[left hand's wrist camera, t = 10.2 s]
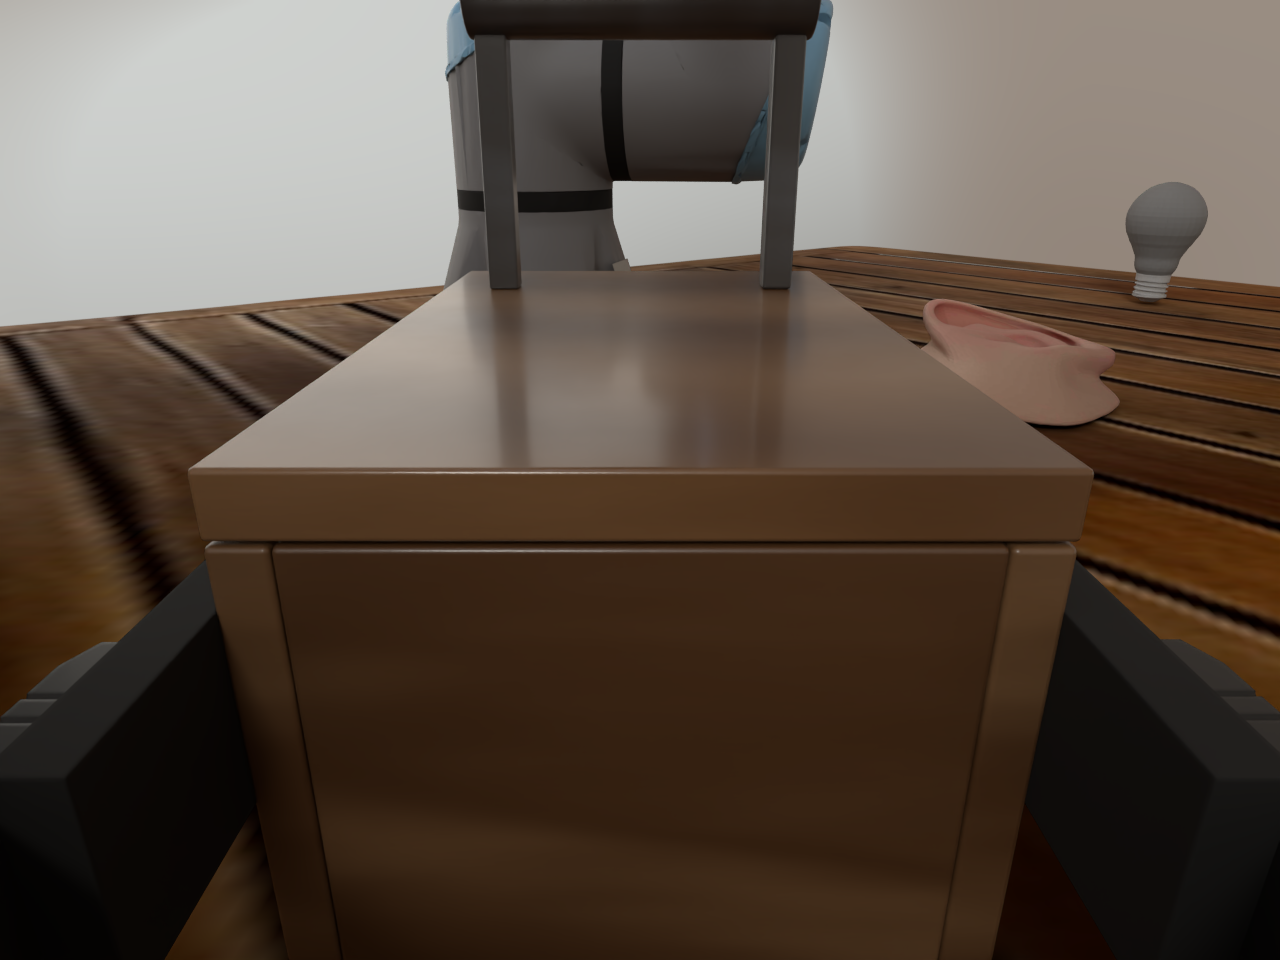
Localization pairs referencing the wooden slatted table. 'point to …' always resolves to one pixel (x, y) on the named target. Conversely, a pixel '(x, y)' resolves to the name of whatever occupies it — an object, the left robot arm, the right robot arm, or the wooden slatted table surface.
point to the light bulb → (1163, 234)
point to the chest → (640, 742)
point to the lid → (640, 380)
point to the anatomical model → (1021, 363)
